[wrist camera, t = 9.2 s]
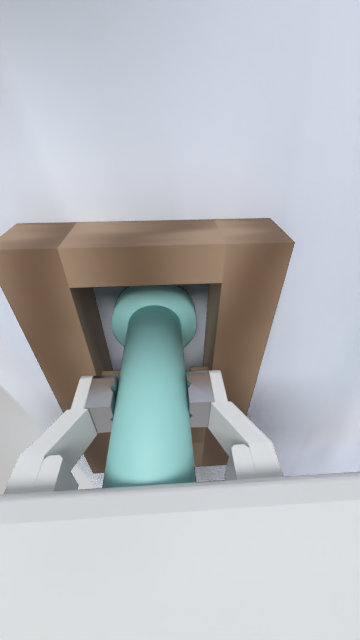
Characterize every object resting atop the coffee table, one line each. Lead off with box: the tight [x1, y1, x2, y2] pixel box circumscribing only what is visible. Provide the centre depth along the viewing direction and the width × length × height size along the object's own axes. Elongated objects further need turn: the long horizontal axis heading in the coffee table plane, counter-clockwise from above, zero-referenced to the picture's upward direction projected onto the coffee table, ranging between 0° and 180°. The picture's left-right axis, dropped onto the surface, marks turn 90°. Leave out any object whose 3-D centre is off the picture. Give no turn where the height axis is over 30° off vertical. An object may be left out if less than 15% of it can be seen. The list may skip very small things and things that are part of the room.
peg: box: [102, 284, 197, 488], centre depth 12 cm, size 5×5×11 cm
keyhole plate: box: [0, 218, 295, 473], centre depth 18 cm, size 12×20×3 cm, turn 0°
